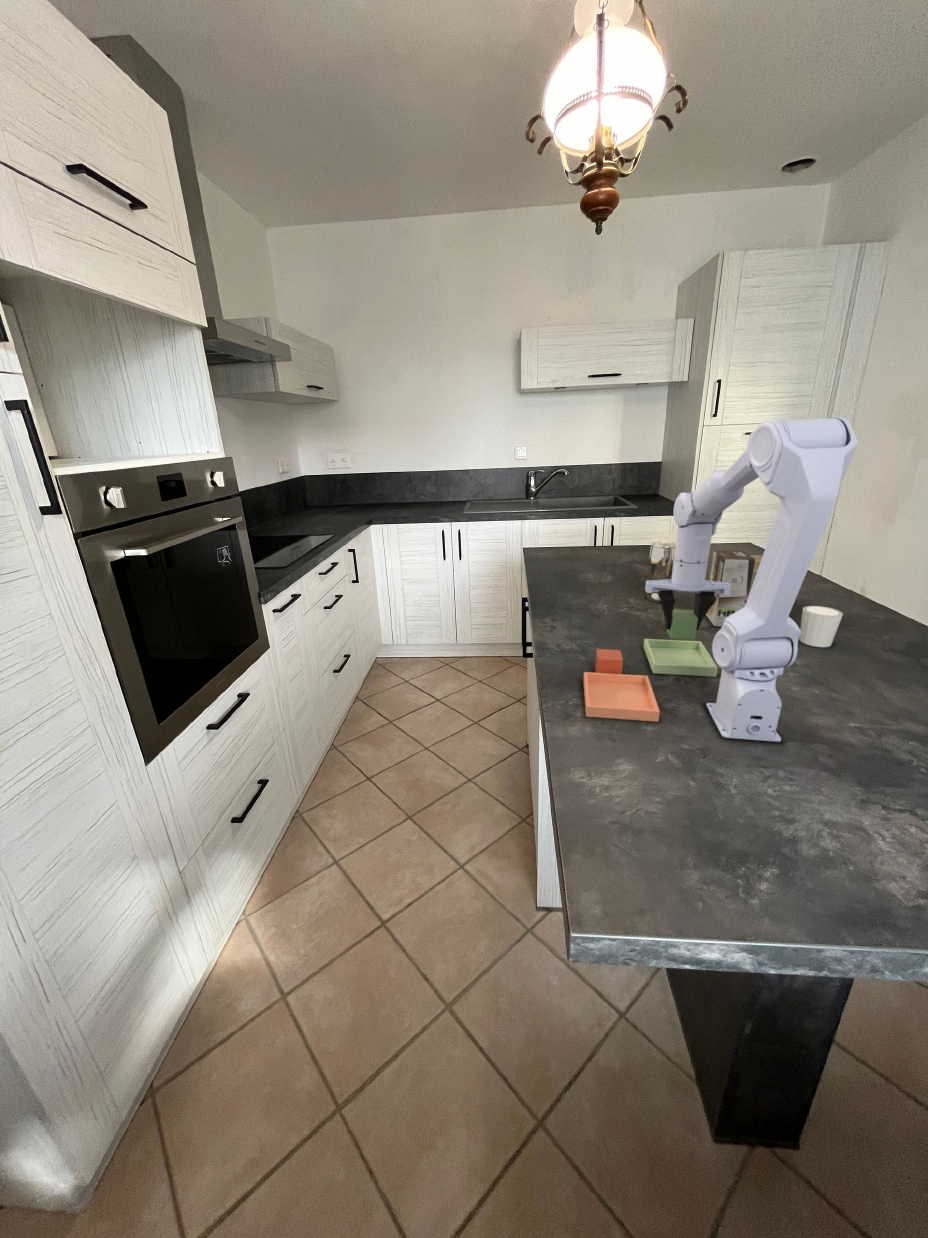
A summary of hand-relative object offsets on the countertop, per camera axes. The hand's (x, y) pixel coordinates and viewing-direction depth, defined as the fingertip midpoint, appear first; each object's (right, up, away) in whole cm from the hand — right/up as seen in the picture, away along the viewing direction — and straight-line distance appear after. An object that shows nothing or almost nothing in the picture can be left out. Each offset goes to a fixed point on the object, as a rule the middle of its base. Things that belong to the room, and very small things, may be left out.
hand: (681, 628), depth 94 cm
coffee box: (+20, +1, +22) cm, 29 cm away
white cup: (+32, -3, +9) cm, 34 cm away
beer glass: (+11, +7, +38) cm, 40 cm away
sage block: (0, -1, +1) cm, 1 cm away
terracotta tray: (-16, -12, -11) cm, 22 cm away
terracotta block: (-15, -9, -2) cm, 17 cm away
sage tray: (0, -7, +3) cm, 7 cm away
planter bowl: (+34, +5, +31) cm, 46 cm away
